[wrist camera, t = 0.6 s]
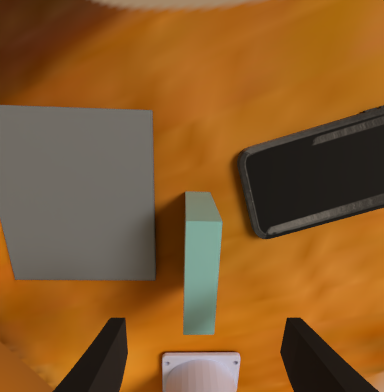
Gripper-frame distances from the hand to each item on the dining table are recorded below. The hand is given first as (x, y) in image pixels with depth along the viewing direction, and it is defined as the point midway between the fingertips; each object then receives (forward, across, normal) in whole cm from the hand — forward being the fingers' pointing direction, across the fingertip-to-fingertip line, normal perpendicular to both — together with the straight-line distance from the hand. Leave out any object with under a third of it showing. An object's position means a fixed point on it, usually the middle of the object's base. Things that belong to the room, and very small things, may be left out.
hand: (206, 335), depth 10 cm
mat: (+9, +10, -3) cm, 14 cm away
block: (+10, 0, 0) cm, 10 cm away
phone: (+10, -11, -6) cm, 16 cm away
